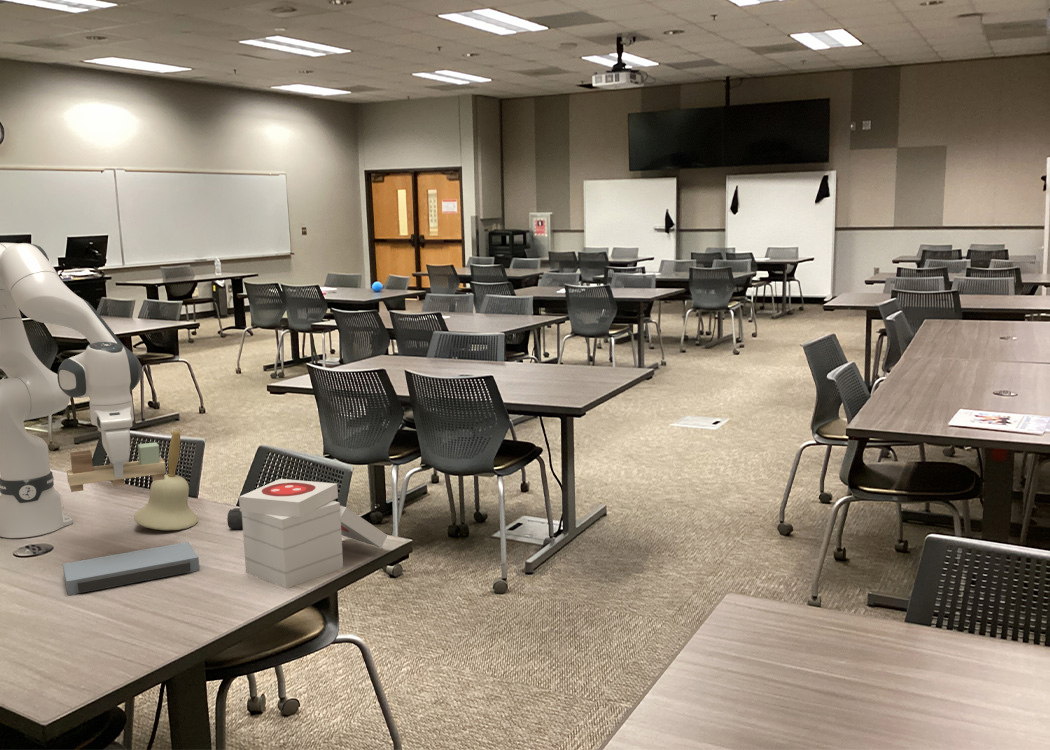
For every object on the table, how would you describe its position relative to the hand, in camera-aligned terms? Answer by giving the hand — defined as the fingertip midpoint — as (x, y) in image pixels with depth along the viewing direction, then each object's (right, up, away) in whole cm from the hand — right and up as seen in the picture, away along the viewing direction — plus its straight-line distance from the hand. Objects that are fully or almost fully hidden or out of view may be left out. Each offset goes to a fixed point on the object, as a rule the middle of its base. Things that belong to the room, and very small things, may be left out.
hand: (117, 474), depth 207 cm
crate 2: (+6, +2, +3) cm, 7 cm away
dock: (+7, -21, -8) cm, 23 cm away
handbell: (+1, -16, +25) cm, 30 cm away
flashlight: (+27, -16, +22) cm, 38 cm away
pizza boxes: (+46, -20, -3) cm, 50 cm away
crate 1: (-6, +1, -4) cm, 7 cm away
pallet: (0, -2, 0) cm, 2 cm away
